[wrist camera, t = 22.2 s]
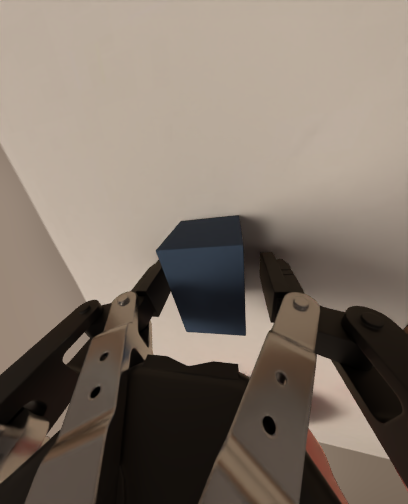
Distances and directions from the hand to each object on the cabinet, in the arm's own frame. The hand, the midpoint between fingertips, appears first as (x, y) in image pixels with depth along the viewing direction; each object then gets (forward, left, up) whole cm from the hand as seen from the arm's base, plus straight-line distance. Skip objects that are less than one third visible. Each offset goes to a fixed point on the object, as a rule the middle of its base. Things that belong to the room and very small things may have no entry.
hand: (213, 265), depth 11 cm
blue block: (0, 0, -1) cm, 1 cm away
